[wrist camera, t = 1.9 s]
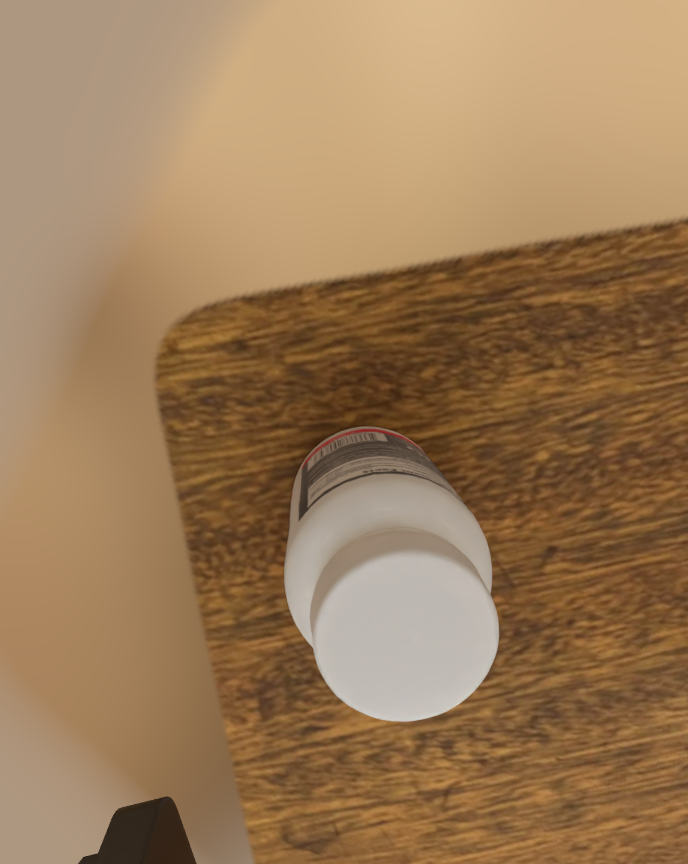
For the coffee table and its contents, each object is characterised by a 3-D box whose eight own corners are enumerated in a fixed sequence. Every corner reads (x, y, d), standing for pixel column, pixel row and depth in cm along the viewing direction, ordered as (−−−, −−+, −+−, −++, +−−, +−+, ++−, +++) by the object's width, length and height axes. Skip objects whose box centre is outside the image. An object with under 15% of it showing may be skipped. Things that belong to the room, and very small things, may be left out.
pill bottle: (414, 580, 23) (485, 775, 14) (275, 545, 23) (247, 724, 13) (458, 445, 22) (568, 554, 13) (314, 405, 22) (315, 488, 12)
